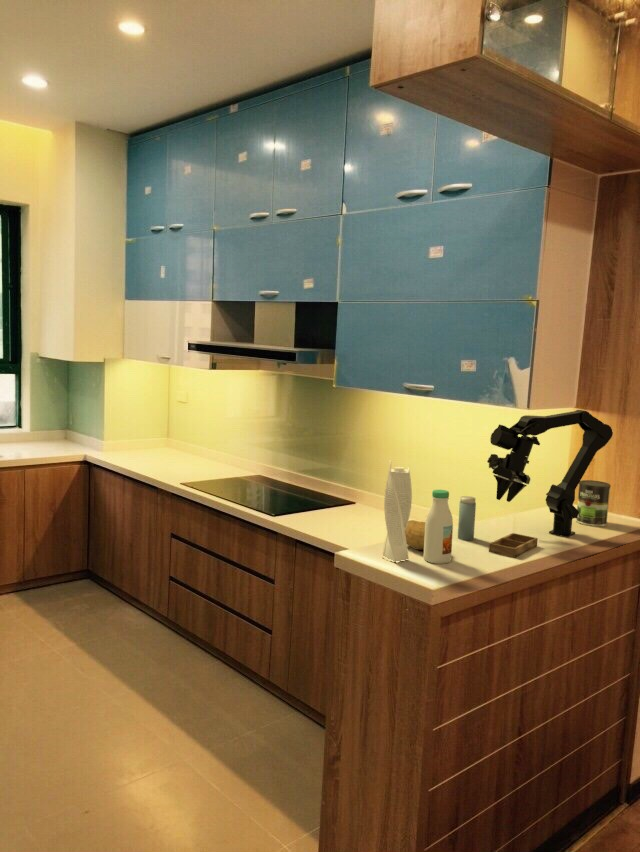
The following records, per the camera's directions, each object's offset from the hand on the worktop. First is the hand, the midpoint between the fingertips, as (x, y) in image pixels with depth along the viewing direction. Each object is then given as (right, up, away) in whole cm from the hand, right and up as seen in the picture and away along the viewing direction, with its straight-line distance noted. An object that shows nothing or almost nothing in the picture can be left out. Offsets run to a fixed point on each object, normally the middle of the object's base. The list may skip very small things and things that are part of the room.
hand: (503, 500), depth 228 cm
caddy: (0, -13, -12) cm, 18 cm away
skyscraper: (-37, -14, -25) cm, 47 cm away
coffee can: (+37, -10, +23) cm, 44 cm away
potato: (-29, -13, -14) cm, 35 cm away
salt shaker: (-12, -12, -2) cm, 17 cm away
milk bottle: (-25, -15, -25) cm, 38 cm away
